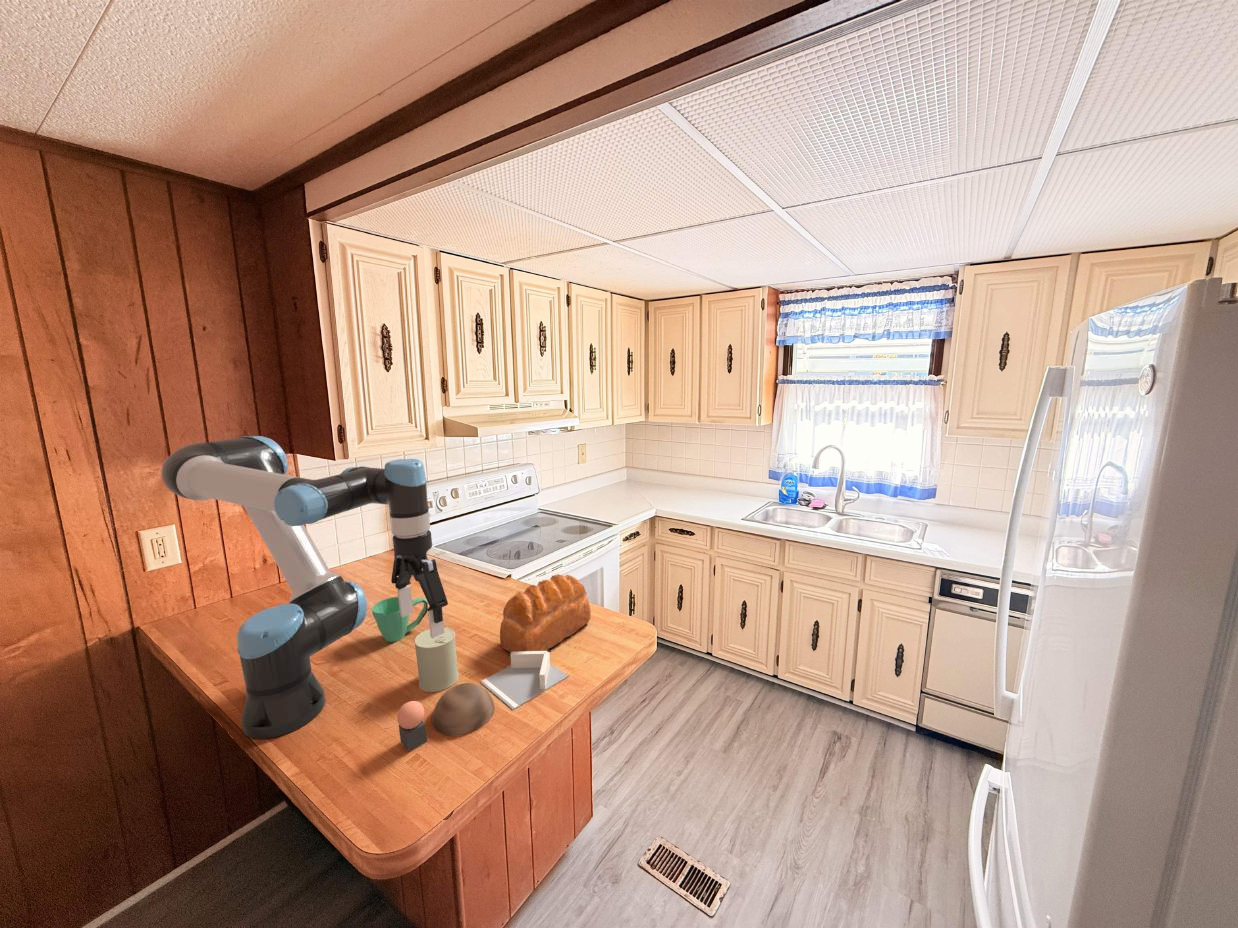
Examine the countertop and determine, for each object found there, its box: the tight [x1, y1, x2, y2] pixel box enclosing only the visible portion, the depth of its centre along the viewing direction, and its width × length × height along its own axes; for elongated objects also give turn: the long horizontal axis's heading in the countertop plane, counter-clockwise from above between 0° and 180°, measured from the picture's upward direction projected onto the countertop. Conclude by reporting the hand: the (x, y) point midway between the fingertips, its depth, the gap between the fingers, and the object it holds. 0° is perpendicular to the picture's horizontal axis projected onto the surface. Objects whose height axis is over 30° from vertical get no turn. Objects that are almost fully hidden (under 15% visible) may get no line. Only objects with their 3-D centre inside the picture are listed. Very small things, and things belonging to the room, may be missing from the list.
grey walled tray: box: [479, 650, 569, 711], centre depth 116 cm, size 16×14×4 cm
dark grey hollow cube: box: [398, 720, 428, 753], centre depth 97 cm, size 4×4×4 cm
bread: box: [499, 573, 592, 653], centre depth 135 cm, size 14×26×16 cm, turn 143°
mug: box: [371, 596, 429, 643], centre depth 136 cm, size 15×10×10 cm
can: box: [413, 626, 460, 693], centre depth 116 cm, size 9×9×12 cm
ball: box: [396, 700, 425, 729], centre depth 96 cm, size 5×5×5 cm
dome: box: [432, 682, 495, 737], centre depth 105 cm, size 13×13×13 cm
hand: (421, 624), depth 106 cm, fingers open, 13 cm apart
